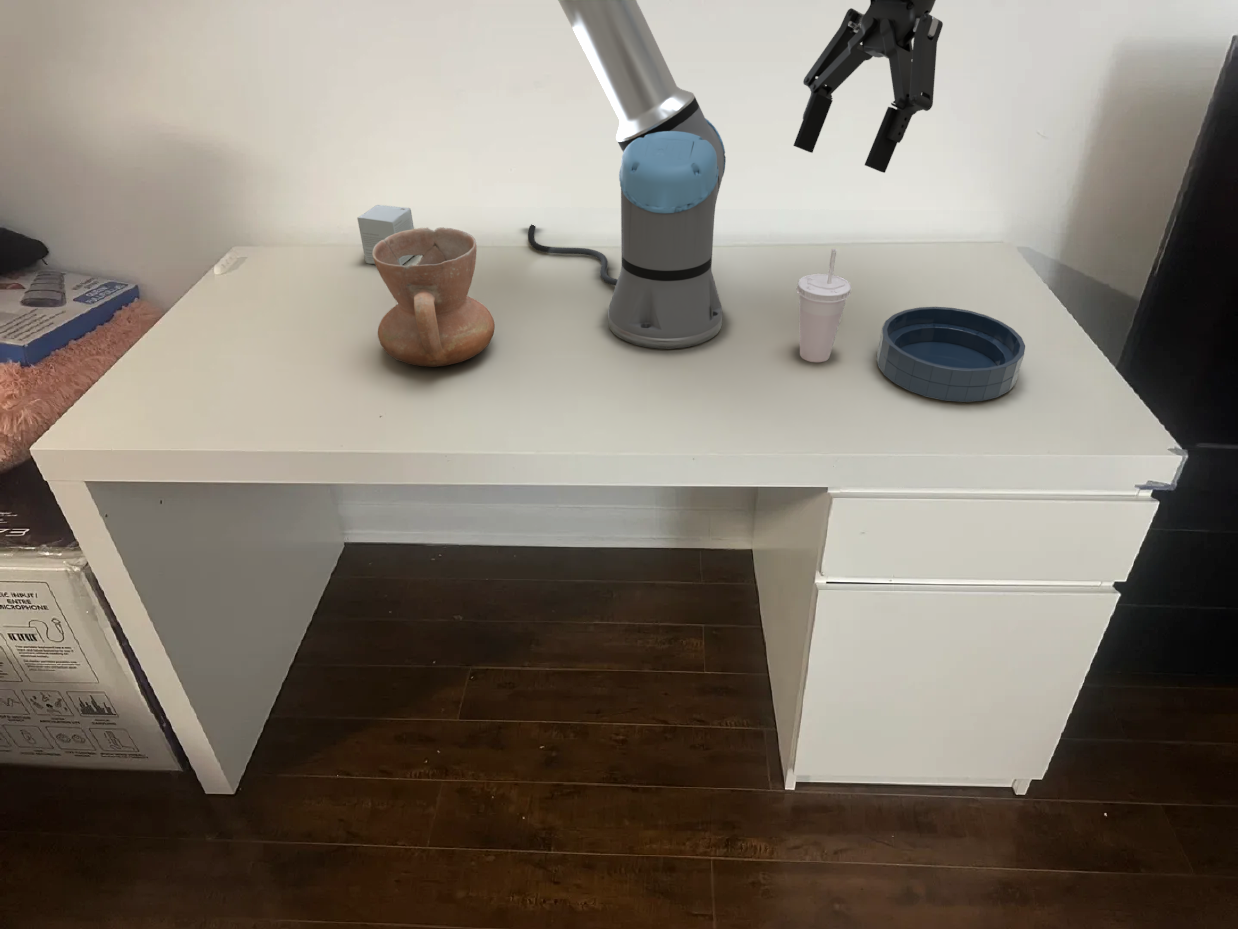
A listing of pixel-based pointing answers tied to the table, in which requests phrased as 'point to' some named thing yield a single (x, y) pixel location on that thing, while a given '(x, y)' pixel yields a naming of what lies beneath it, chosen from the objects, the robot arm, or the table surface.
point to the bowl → (950, 353)
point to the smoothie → (820, 311)
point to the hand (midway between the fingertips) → (836, 158)
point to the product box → (383, 227)
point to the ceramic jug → (432, 298)
